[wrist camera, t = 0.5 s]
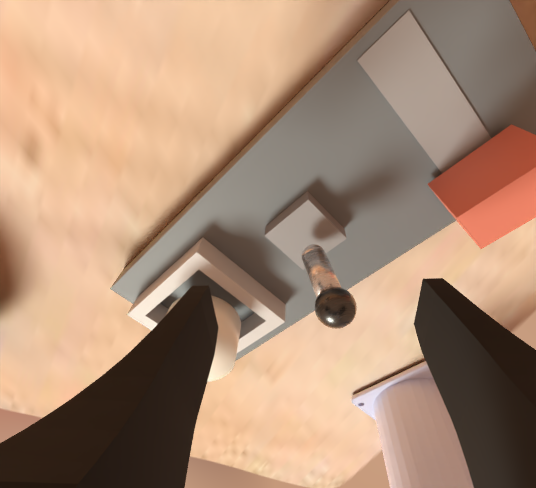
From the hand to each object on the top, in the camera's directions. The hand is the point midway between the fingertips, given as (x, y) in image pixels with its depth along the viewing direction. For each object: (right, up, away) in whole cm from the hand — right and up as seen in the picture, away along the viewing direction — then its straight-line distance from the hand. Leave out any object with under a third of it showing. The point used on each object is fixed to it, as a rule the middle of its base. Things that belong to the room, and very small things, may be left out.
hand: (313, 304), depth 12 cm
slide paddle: (+8, +6, +4) cm, 11 cm away
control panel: (+1, +4, +8) cm, 9 cm away
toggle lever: (0, +2, +6) cm, 6 cm away
